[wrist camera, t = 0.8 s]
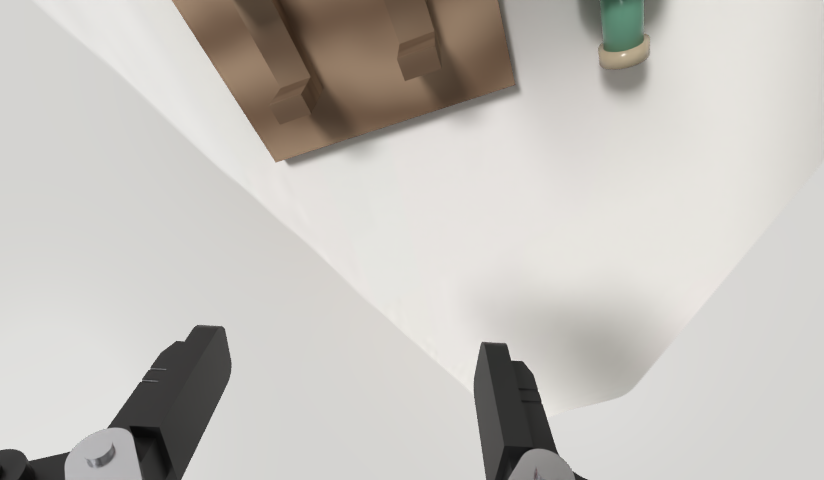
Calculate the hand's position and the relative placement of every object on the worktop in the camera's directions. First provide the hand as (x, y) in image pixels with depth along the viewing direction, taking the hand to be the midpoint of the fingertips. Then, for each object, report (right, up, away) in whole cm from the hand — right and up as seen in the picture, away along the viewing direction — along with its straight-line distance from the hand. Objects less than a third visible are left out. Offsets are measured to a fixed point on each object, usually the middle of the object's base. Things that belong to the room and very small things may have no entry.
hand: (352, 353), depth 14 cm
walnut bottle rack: (-3, +20, +15) cm, 25 cm away
